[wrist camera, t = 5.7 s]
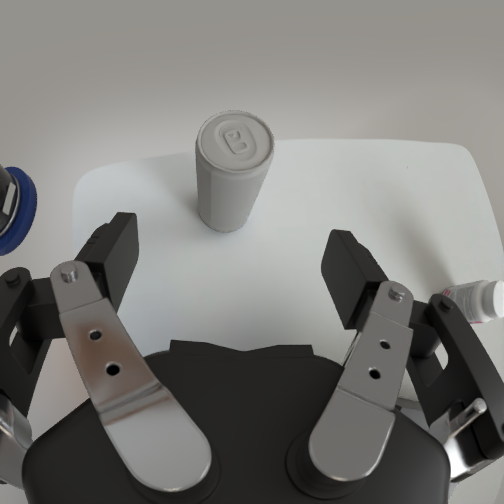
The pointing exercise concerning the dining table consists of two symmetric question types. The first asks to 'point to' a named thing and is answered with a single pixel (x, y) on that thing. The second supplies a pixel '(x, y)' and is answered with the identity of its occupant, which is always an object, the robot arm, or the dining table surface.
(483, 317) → the pill bottle
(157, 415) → the robot arm
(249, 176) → the beverage can
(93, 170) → the dining table surface
